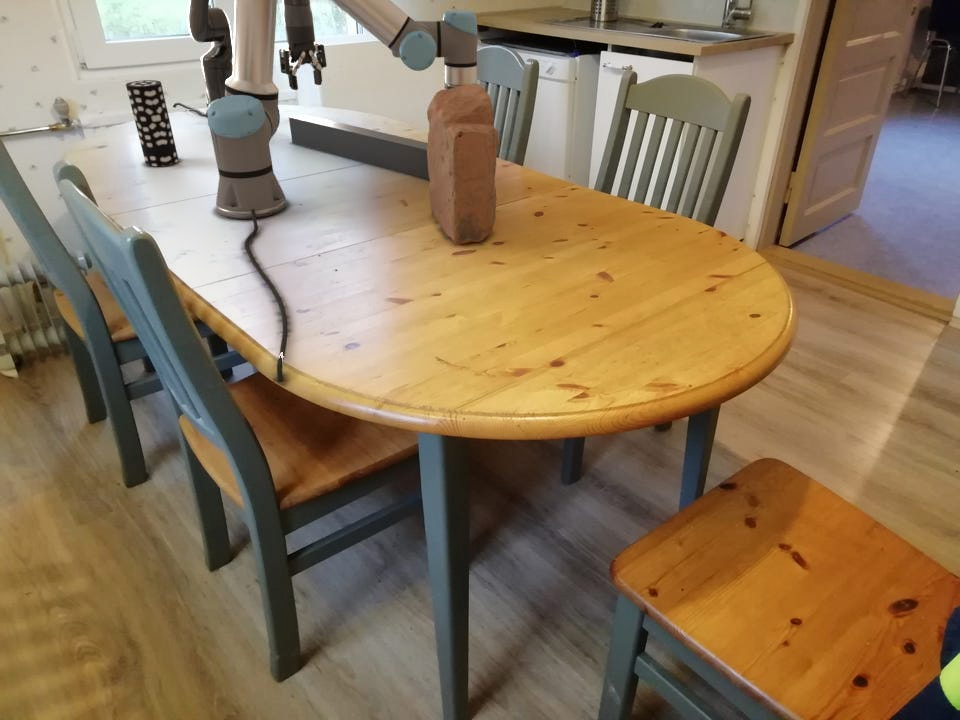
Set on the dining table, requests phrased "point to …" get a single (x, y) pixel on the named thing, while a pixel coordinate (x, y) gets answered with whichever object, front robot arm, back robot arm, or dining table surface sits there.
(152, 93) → the black white spotted cylinder
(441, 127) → the stone
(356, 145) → the post
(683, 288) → the dining table surface
